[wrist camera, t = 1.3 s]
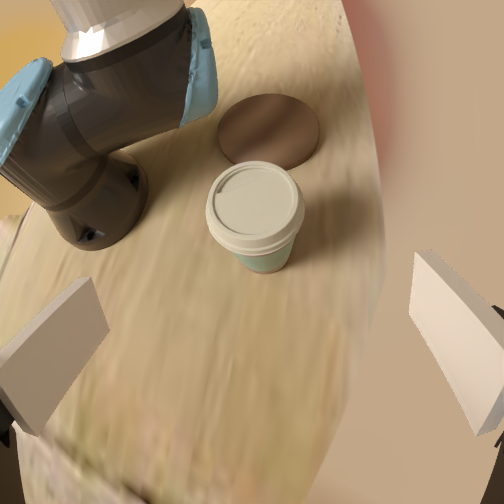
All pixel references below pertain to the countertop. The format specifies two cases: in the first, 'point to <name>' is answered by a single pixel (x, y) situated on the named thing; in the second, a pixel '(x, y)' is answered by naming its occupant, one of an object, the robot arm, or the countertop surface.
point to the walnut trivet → (269, 131)
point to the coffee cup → (256, 214)
